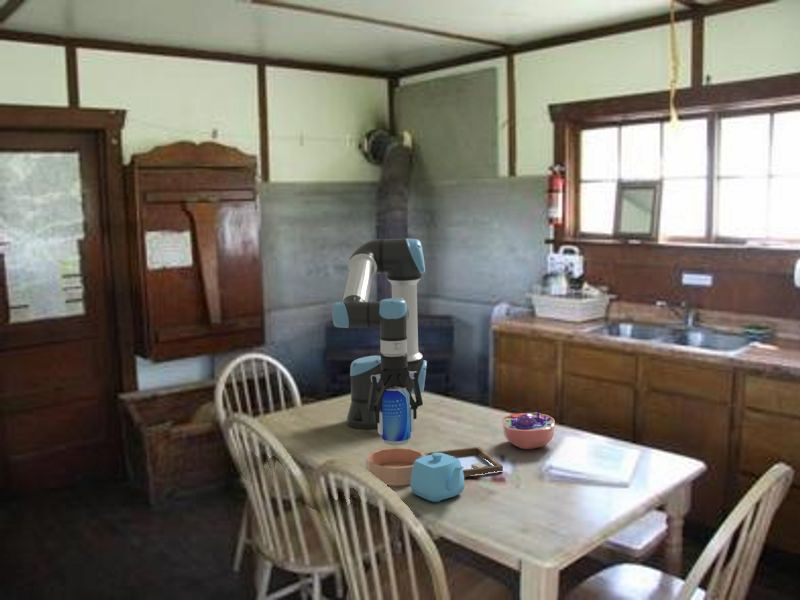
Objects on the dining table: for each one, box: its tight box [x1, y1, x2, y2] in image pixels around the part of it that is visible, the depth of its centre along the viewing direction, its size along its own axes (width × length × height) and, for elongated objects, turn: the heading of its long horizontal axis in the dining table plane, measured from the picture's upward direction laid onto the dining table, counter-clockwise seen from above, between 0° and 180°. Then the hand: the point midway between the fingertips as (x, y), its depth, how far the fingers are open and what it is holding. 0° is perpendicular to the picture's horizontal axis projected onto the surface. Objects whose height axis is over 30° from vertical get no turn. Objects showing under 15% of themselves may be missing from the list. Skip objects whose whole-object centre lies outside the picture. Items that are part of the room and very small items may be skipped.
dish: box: [365, 446, 426, 487], centre depth 220 cm, size 18×18×5 cm
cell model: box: [501, 411, 556, 450], centre depth 241 cm, size 17×20×11 cm
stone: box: [471, 462, 488, 469], centre depth 221 cm, size 4×3×2 cm
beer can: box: [380, 386, 412, 446], centre depth 217 cm, size 8×8×16 cm
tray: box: [423, 446, 504, 479], centre depth 225 cm, size 18×18×2 cm
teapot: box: [410, 453, 466, 503], centre depth 203 cm, size 12×18×12 cm
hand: (395, 431), depth 218 cm, fingers closed on beer can, 8 cm apart
